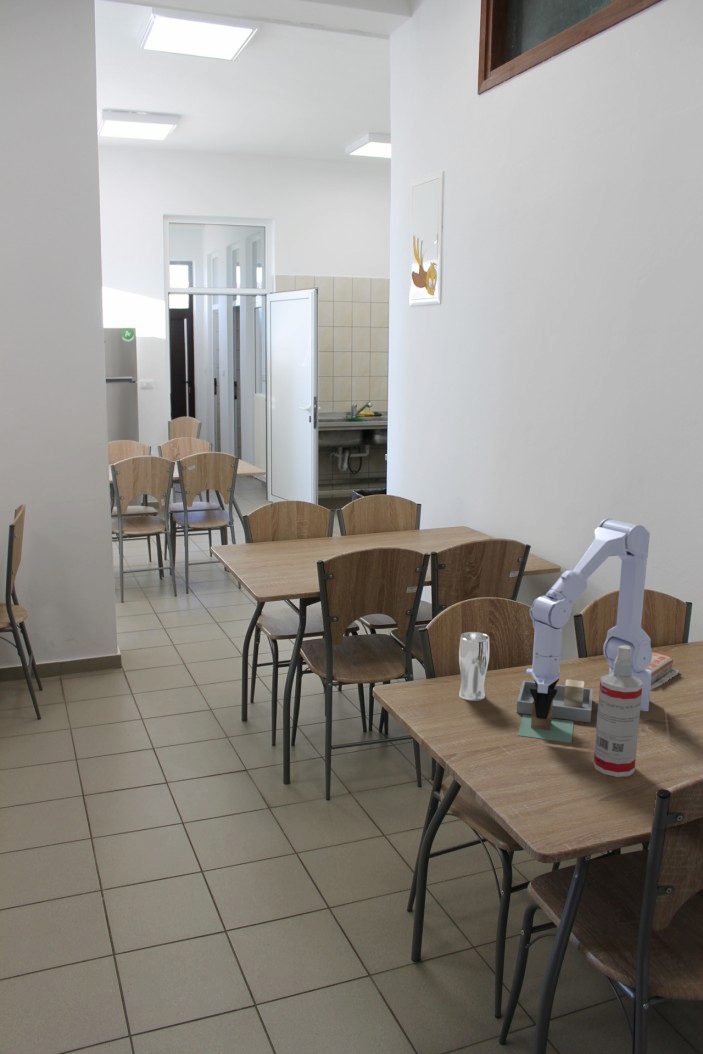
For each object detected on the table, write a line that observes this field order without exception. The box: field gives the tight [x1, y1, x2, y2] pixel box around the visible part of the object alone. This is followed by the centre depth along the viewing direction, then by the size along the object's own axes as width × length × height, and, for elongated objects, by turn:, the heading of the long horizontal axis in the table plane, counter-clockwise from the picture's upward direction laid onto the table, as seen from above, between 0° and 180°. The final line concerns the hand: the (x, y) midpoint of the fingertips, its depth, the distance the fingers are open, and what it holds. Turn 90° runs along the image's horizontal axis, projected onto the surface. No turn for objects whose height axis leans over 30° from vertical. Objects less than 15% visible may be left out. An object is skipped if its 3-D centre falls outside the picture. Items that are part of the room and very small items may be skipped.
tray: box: [516, 680, 594, 723], centre depth 202 cm, size 16×13×3 cm
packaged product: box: [646, 651, 681, 691], centre depth 222 cm, size 18×5×10 cm
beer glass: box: [458, 631, 490, 702], centre depth 206 cm, size 7×7×15 cm
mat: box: [517, 714, 575, 744], centre depth 190 cm, size 11×11×1 cm
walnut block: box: [531, 699, 553, 730], centre depth 191 cm, size 4×4×6 cm
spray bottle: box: [593, 645, 643, 778], centre depth 172 cm, size 8×8×25 cm
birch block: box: [564, 679, 585, 708], centre depth 201 cm, size 4×4×6 cm
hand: (542, 712), depth 191 cm, fingers open, 5 cm apart
